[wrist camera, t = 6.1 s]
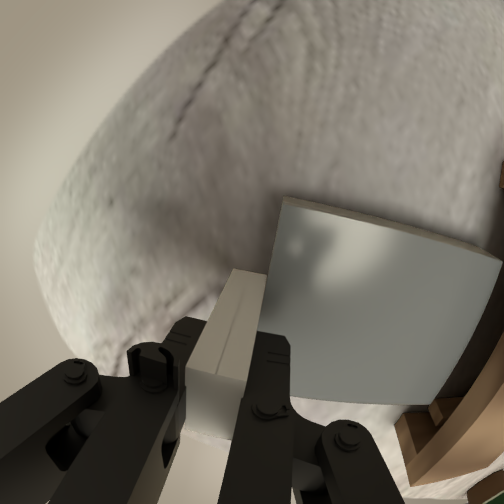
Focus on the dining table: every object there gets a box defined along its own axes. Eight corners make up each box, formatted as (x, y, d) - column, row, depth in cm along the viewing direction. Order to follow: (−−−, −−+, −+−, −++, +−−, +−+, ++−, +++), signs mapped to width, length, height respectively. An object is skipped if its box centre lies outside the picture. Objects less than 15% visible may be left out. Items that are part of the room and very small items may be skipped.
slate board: (283, 194, 13) (282, 203, 10) (472, 243, 12) (502, 261, 10) (250, 352, 16) (243, 387, 13) (415, 373, 15) (430, 404, 12)
